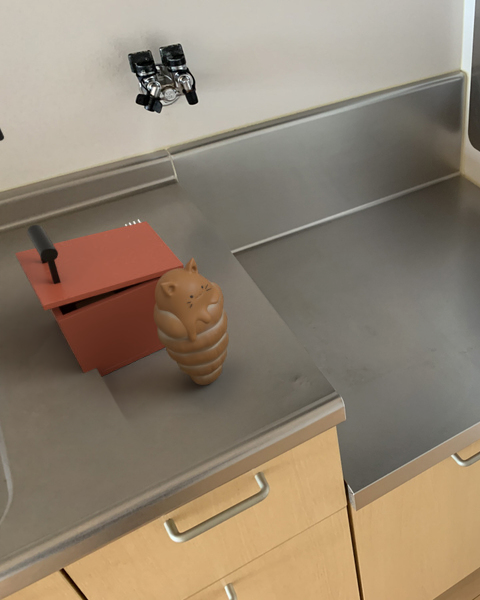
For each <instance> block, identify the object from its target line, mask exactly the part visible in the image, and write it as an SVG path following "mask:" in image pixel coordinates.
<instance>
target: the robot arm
mask: <svg viewBox="0 0 480 600" xmlns="http://www.w3.org/2000/svg"><path fill="white" fill-rule="evenodd" d="M3 133H4V132H2V129H1V128H0V142H2V141H4V139H5V136H4V134H3Z"/></svg>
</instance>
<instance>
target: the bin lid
mask: <svg viewBox="0 0 480 600" xmlns="http://www.w3.org/2000/svg"><path fill="white" fill-rule="evenodd" d="M140 222H141V223H139V222H136V224H134V223H133V224H131V225H129V224H128V225H127V226H125V225H124V226H120V227H116V228H113V229H109V230H104V231H101V232H96V233H93V234H88V235H83V236H80V237H76V238H71V239H66V240H64V241H59V242H55V243H53V242H52V240H51V238H50V236H49V235H48V234H47V232H46V231H45V229H44V228H43V226H41V225H40V224H33V225H30V226H29V227H28V228H27V230H26V233H27V236H28V238H29V239H30V241H31V243H32V245H33V246H34V248H30V249H26V250H22V251H18V252H15V253H14V255H15V257H16V260H17V262H18V264H19V265H20V267H21V270H22V271H23V273H24V276H25V277H26V279H27V281H28V282H29V285H30V286H31V288H32V291H33V292H34V294H35V296H36V297H37V299H38V301H39V304H40V305H41V308H42V309H43V311H48V310H50V309H52V308H55V307H58V306H62V305H65V304H69V303H72V302H75V301H79V300H82V299H86V298H89V297H92V296H96V295H99V294H102V293H106V292H109V291H113V290H116V289H119V288H123V287H126V286H130V285H133V284H136V283H140V282H143V281H147V280H150V279H153V278H157V277H160V276H163V275H164V274H165V273H167V272H168V271H171V270H173V269H179V268H185V265H184V263H183V262H182V261H181V260H180V259H179V258H178V257H177V255H176V254H175V253H174V252H173V251H172V249H171V248H170V247H169V246H168V244H166V243H165V241H164V240H163V239H162V238H161V237H160V235H159V234H158V233H157V232H156V231H155V230H154V229H153V227H152V225H150V223H148V221H140Z"/></svg>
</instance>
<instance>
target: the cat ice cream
mask: <svg viewBox="0 0 480 600" xmlns="http://www.w3.org/2000/svg"><path fill="white" fill-rule="evenodd" d="M155 300H156V303H155V306H154V321H155V323H156V325H157V334H158V338H159V340H160V342H161V343H162V344H163V345H164V346H165V350H166V353H167V355H168V356H169V357H170V359H171V360H173V362H176V364H177V366H178V367H179V369H180V370H181V372H183V373H184V374H186V375H189V377H190V379H191V380H192V381H193V382H194V383H195V384H197V385H200V386H206V385H209V384H212V383H214V382H215V381H216V380H217V379H218V378H219V377H220V376H221V374H222V372H223V364H224V363H225V361H226V359H227V356H228V349H227V348H228V346H229V342H230V337H229V335H230V334H229V333H228V331H227V330H228V314H227V312H226V310H225V308H224V303H225V299H224V294H223V291H222V288H221V286H219V284H217V283H216V282H213V281H210V280H209V279H208V278H207V277H204V276H203V275H202V274H200V273H199V270H198V265H197V262H196V260H195V258H194V257H191V258H190V259H189V261H188V262H187V263H186V264H185V265H184V268H179V269H173V270H171V271H168V272H167V273H165V274H164V275H163V276H162V277H161V278H160V279H159V280H158V282H157V285H156V288H155Z"/></svg>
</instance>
